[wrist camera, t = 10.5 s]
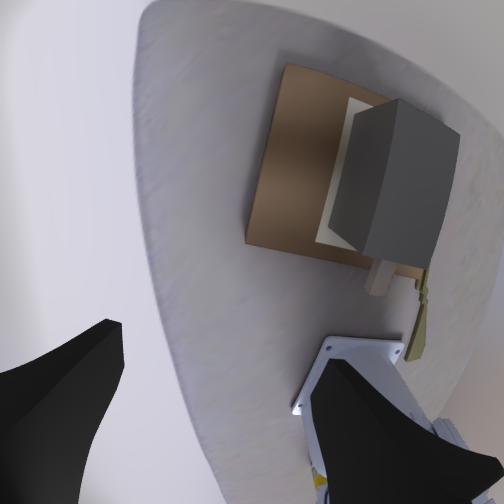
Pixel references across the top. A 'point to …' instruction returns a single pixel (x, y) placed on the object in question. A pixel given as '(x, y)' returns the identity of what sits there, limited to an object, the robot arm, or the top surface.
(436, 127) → the block
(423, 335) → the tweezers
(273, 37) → the top surface
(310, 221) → the pin board
